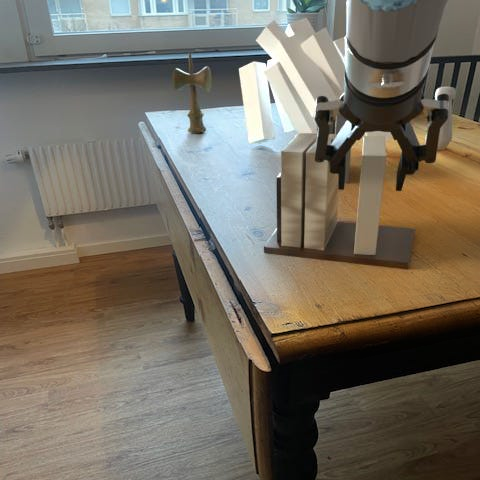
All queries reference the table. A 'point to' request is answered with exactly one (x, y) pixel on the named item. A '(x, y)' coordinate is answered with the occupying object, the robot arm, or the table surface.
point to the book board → (345, 247)
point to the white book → (370, 194)
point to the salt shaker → (446, 128)
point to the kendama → (193, 92)
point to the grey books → (339, 123)
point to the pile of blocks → (293, 79)
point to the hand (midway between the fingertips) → (370, 181)
